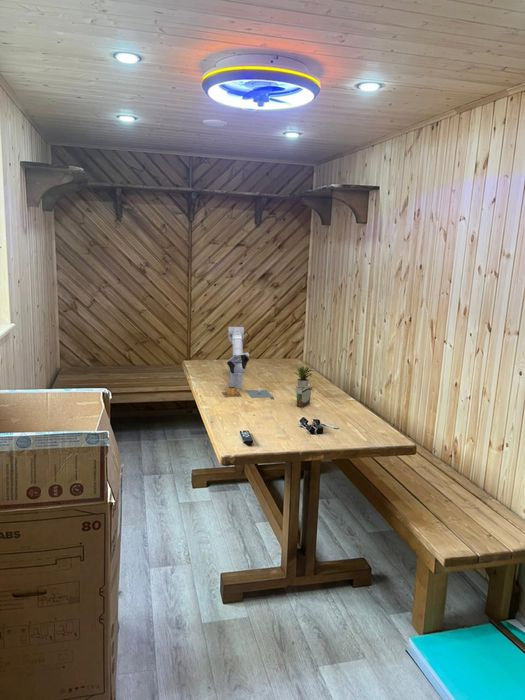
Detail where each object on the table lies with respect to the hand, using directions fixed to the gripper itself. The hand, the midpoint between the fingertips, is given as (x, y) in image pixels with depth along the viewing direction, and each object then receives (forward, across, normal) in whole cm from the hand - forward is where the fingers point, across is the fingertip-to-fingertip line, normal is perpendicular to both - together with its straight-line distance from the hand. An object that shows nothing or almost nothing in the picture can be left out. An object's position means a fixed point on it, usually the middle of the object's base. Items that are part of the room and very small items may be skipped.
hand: (237, 370), depth 306 cm
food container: (+22, +27, +21) cm, 41 cm away
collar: (+8, -9, +8) cm, 15 cm away
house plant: (-4, +18, +44) cm, 48 cm away
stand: (+9, -10, +8) cm, 16 cm away
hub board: (+7, +2, +19) cm, 20 cm away
